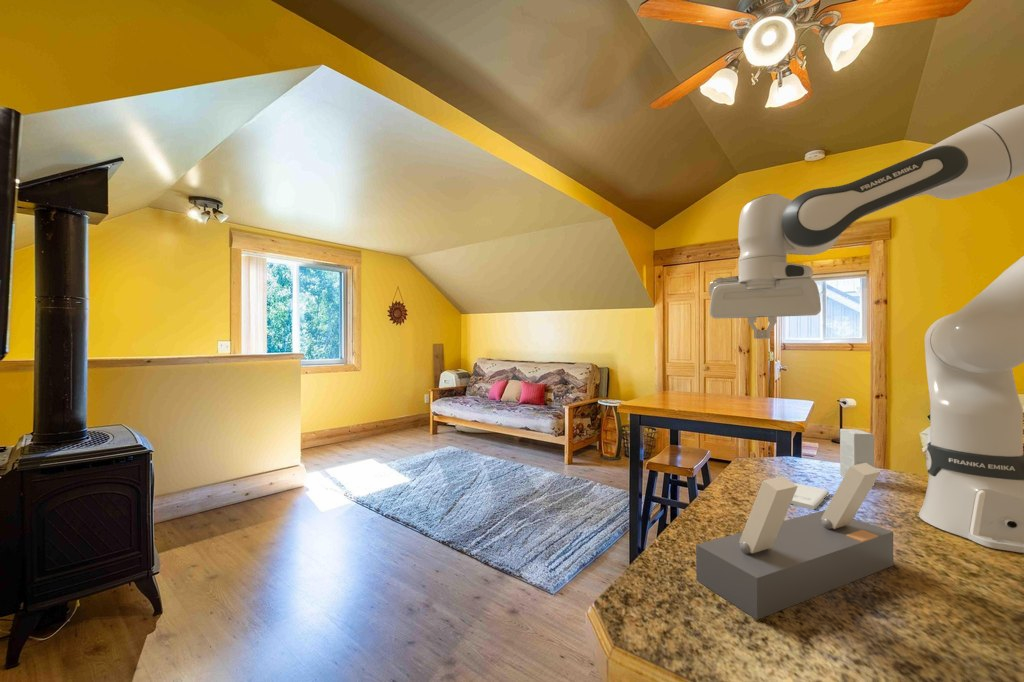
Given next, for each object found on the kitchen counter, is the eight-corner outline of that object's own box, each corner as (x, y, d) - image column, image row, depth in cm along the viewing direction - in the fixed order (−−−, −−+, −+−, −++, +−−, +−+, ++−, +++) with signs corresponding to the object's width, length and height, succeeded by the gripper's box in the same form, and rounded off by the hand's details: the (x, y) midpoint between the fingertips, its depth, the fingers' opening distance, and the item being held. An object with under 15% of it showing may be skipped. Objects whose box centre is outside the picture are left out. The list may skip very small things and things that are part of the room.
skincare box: (875, 486, 95) (875, 434, 95) (854, 485, 96) (854, 433, 96) (859, 477, 101) (858, 429, 101) (839, 476, 102) (838, 428, 102)
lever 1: (736, 546, 56) (761, 480, 53) (758, 540, 58) (784, 476, 55) (749, 558, 54) (776, 490, 51) (771, 551, 56) (798, 485, 53)
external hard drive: (828, 497, 90) (813, 513, 82) (785, 487, 96) (767, 501, 88) (829, 490, 90) (813, 505, 82) (785, 480, 96) (767, 493, 88)
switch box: (696, 580, 58) (696, 543, 58) (826, 539, 70) (826, 508, 70) (757, 619, 49) (756, 576, 49) (893, 565, 61) (893, 530, 62)
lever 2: (817, 522, 63) (849, 466, 60) (835, 517, 65) (866, 462, 61) (831, 532, 62) (864, 475, 58) (848, 527, 64) (881, 471, 60)
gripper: (705, 276, 92) (706, 338, 92) (820, 266, 80) (821, 338, 80) (711, 280, 97) (711, 339, 97) (820, 271, 85) (820, 338, 85)
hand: (762, 338), depth 88 cm, fingers closed
